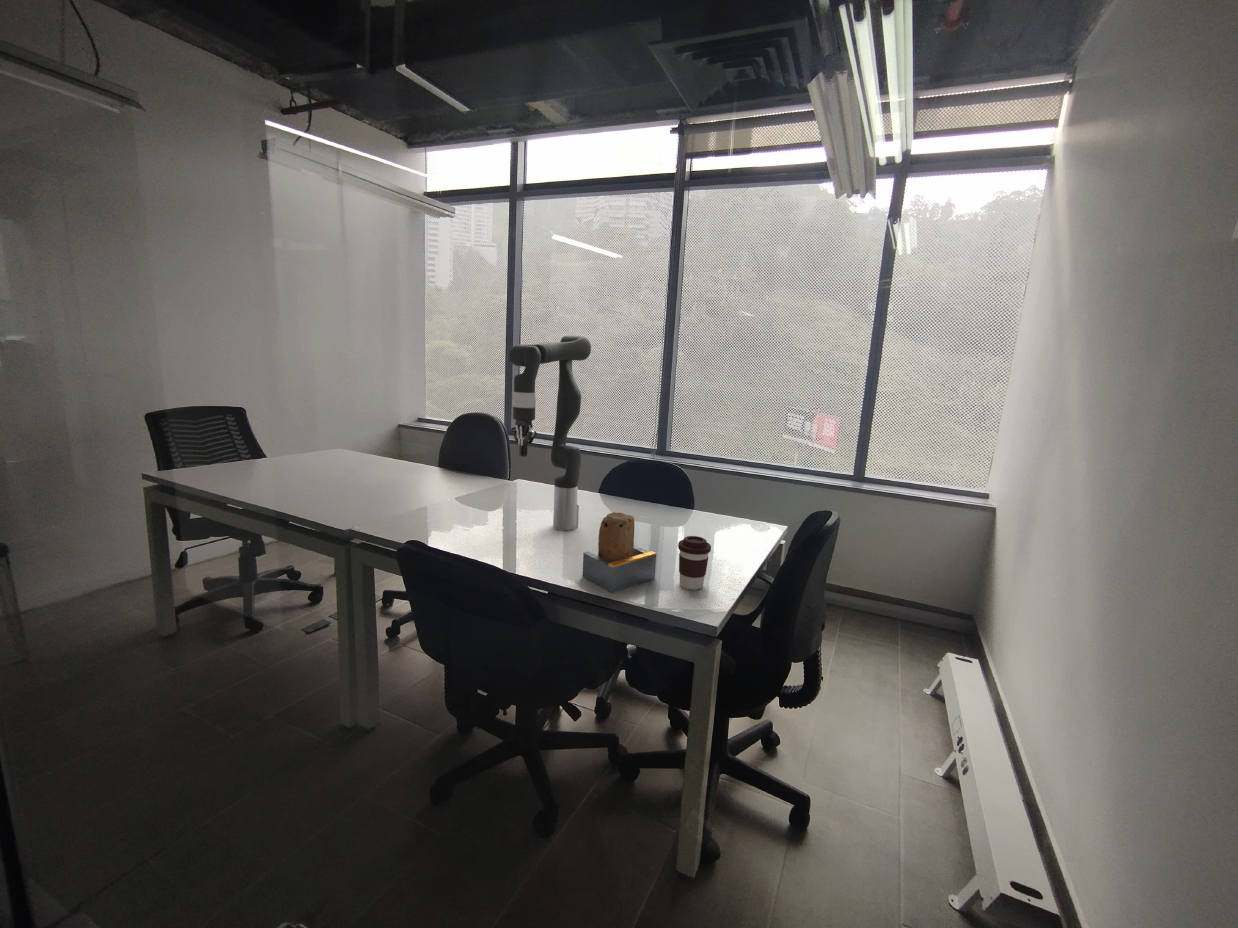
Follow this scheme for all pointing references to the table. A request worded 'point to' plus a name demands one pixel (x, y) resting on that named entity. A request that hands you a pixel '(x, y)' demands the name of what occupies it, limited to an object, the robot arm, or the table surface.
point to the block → (616, 537)
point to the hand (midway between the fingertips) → (523, 456)
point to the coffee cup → (693, 561)
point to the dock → (620, 570)
